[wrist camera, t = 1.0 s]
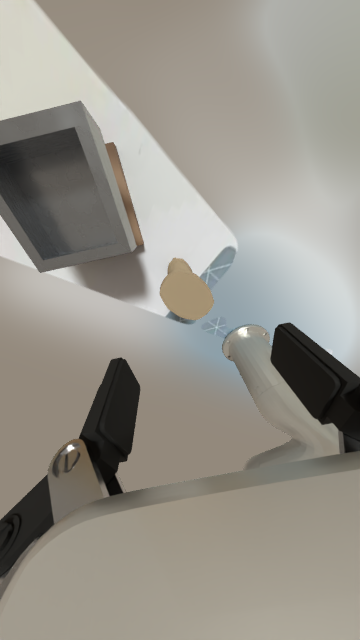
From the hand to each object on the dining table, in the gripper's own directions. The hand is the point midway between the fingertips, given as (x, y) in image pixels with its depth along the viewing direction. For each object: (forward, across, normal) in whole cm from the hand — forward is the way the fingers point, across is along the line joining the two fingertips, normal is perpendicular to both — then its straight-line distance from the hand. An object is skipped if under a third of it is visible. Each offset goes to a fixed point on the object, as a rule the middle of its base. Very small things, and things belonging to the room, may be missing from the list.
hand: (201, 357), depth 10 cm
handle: (+24, 0, 0) cm, 24 cm away
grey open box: (+18, +11, -11) cm, 24 cm away
